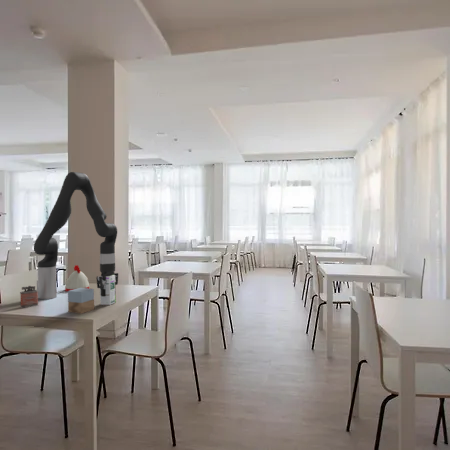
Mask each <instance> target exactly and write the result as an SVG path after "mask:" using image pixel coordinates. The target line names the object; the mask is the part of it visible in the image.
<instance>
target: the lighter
mask: <svg viewBox="0 0 450 450" xmlns="http://www.w3.org/2000/svg"><path fill="white" fill-rule="evenodd" d="M21 290H22V291H20V292H19V294H20V304H19V305H20V308H28V307H29V306H30V307H34V306H35V307H36V306H39V302H38V301H39V298H38V290H37V289H36V285H32V286H31V285H28V286H22V287H21ZM30 307H29V308H30Z"/></svg>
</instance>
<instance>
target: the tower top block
mask: <svg viewBox="0 0 450 450" xmlns="http://www.w3.org/2000/svg"><path fill="white" fill-rule="evenodd" d="M94 290H95V289H94V288H89V289H88V288H78V289H74V290H70V291H67V302H77V303H83V302H87V301H90V300H93V299H94V298H95V297H94V296H95V294H94V293H95V291H94ZM94 300H95V299H94Z"/></svg>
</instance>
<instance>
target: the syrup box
mask: <svg viewBox="0 0 450 450" xmlns="http://www.w3.org/2000/svg"><path fill="white" fill-rule="evenodd" d="M106 280H107V285H106V287H105V291H106V296H104V297H103V296H101V289H100V288H99V298H100V299H99V304H100V305H101V306H102V305H103V306H112V305H114V304H116V303H117V298H116V297H117V295H116V291H117V289H116V286H115V282H116V280H115V275H110V276H106ZM102 282H103V283H105V282H106V281H104V280H102ZM103 286H104V284H103Z"/></svg>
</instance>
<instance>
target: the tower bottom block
mask: <svg viewBox="0 0 450 450" xmlns="http://www.w3.org/2000/svg"><path fill="white" fill-rule="evenodd" d="M67 302H68V301H67ZM67 305H68V310H67V311H68V313H74V314H75V313H76V314H85V313H88V312H91V311H95V299H93V300H90V301H87V302H83V303H77V302H68V304H67Z"/></svg>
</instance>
